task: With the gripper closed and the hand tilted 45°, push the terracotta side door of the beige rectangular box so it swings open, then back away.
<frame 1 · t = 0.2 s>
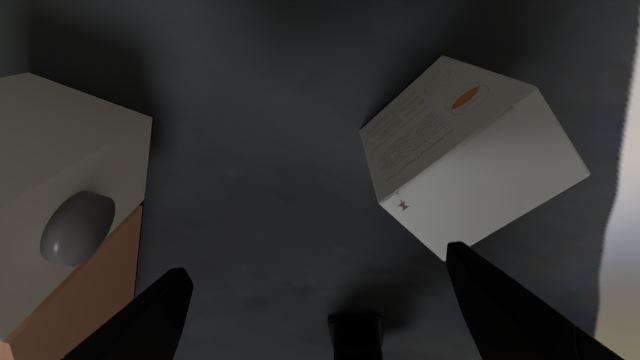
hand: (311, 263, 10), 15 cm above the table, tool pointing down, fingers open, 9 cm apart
small box: (418, 118, 22), on the table
side door: (88, 311, 25), point 7 cm above the table, hinge at 0.0°
beige rectangular box: (133, 198, 27), on the table
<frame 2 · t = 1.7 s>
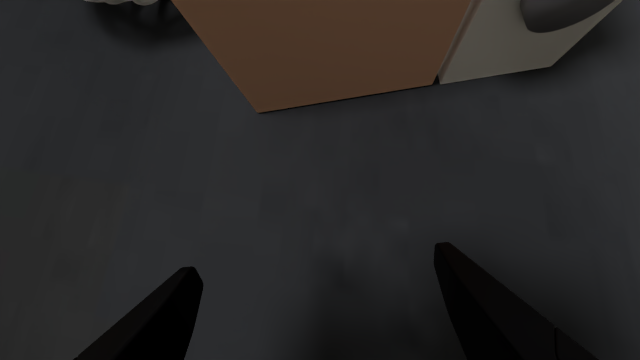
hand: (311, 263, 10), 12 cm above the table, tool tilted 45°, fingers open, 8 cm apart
side door: (335, 41, 18), point 7 cm above the table, hinge at 0.0°
beige rectangular box: (434, 74, 24), on the table
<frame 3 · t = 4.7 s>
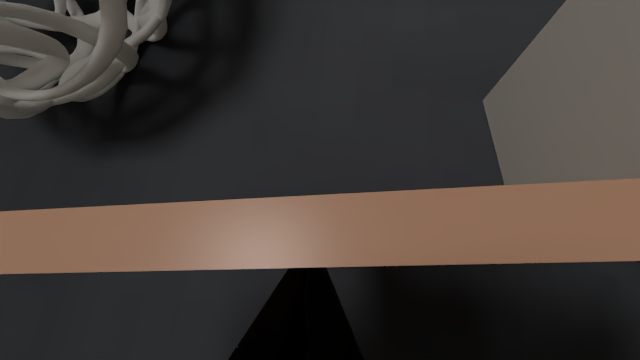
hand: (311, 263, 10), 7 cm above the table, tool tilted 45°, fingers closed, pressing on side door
side door: (372, 241, 10), point 7 cm above the table, hinge at 3.6°, touching gripper
decorative ball: (118, 48, 23), on the table
beige rectangular box: (510, 230, 16), on the table
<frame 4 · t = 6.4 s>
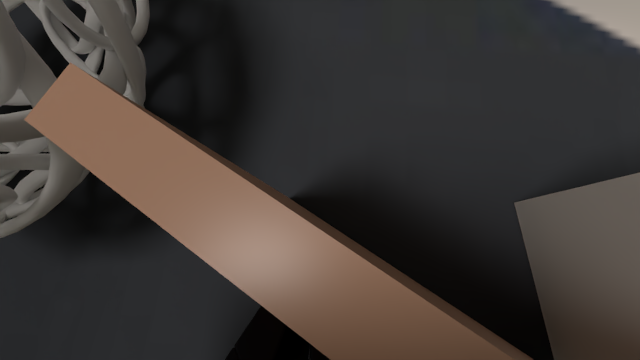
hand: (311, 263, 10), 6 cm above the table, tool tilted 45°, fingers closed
side door: (426, 310, 9), point 7 cm above the table, hinge at 39.3°, touching gripper
decorative ball: (91, 118, 20), on the table
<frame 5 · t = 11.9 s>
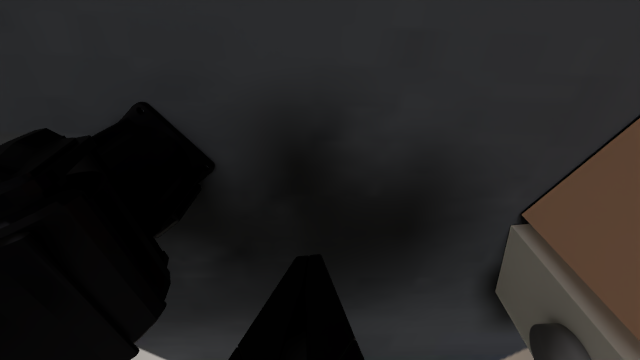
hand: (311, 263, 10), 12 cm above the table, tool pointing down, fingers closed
beige rectangular box: (524, 221, 23), on the table
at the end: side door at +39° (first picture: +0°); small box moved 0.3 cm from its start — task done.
